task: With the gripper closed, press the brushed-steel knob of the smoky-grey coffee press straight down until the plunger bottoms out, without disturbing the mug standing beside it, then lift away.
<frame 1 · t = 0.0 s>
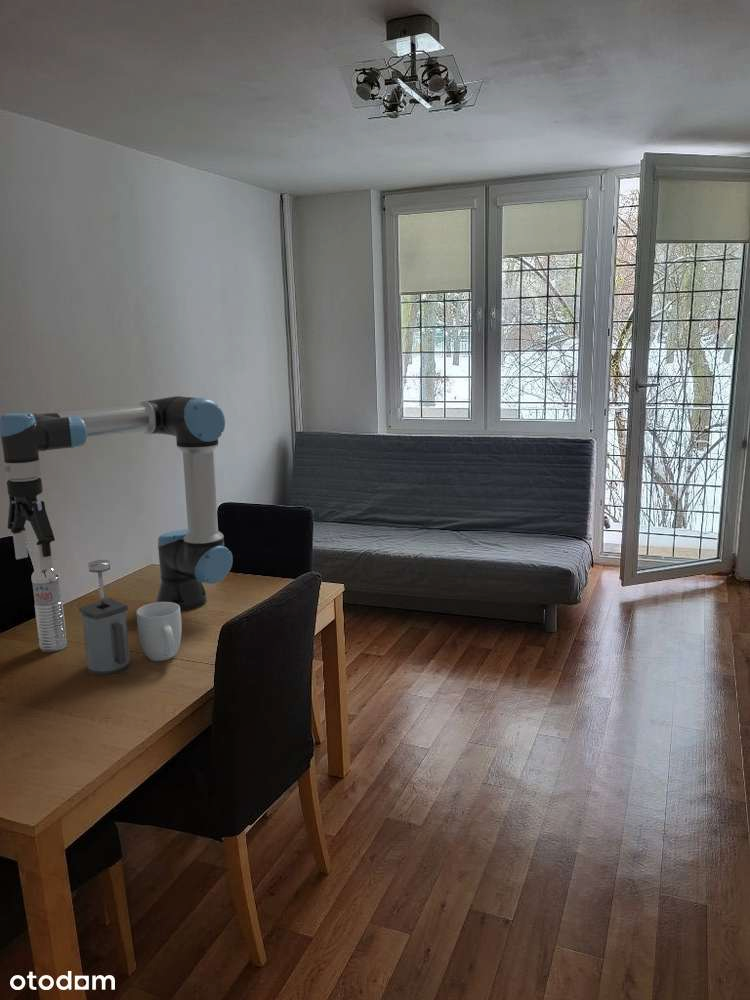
hand: (34, 563, 180), 28 cm above the table, fingers open, 13 cm apart
plunger: (101, 593, 183), point 20 cm above the table, slide at 9.0 cm
water bottle: (53, 648, 199), on the table
carafe: (109, 666, 187), on the table
mug: (163, 658, 192), on the table
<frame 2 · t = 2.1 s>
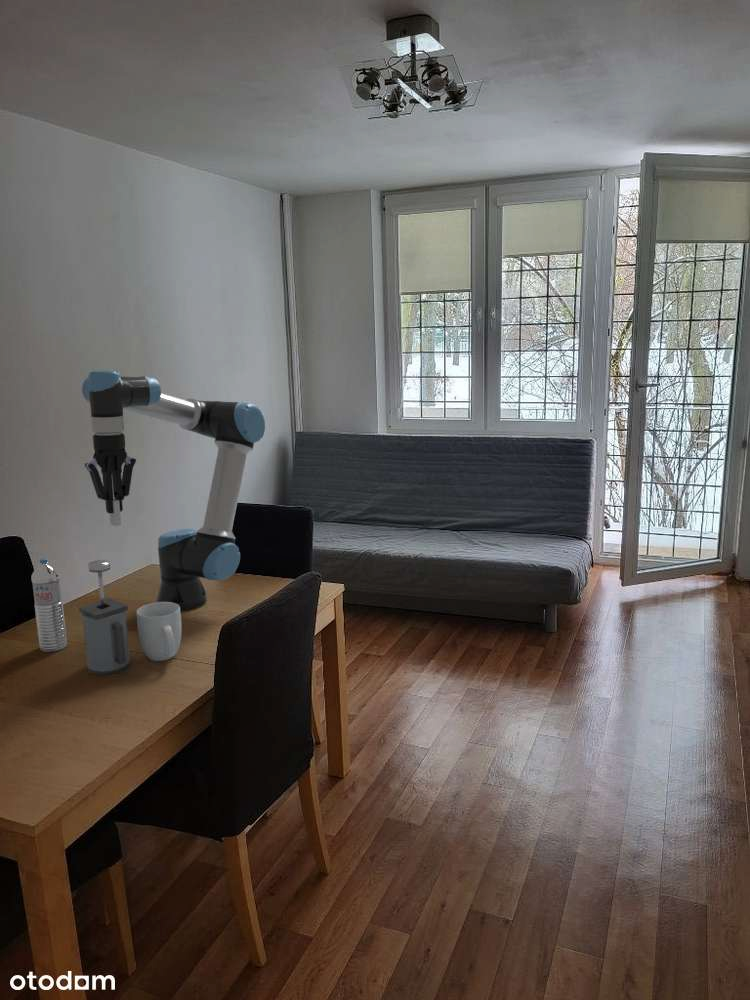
hand: (115, 524, 188), 35 cm above the table, fingers closed
nothing on the table moved.
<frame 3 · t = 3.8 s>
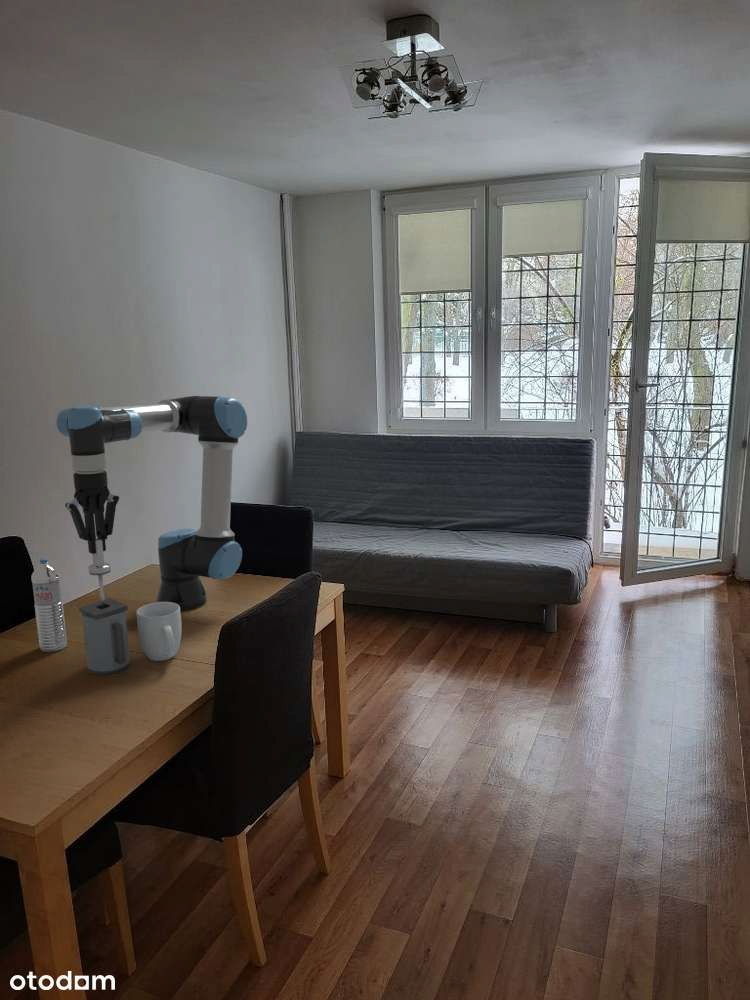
hand: (98, 564, 181), 27 cm above the table, fingers closed
plunger: (102, 596, 183), point 19 cm above the table, slide at 8.2 cm, touching gripper
everything else where it was.
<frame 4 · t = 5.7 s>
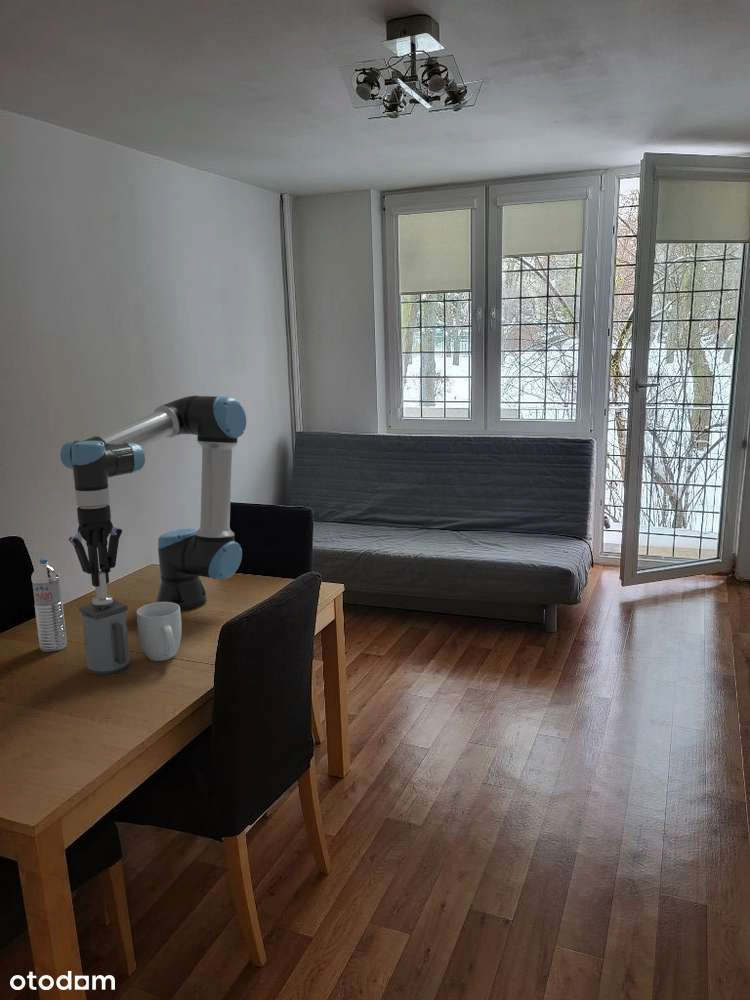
hand: (102, 597, 183), 19 cm above the table, fingers closed
plunger: (105, 628, 185), point 10 cm above the table, slide at -0.2 cm, touching gripper
everything else where it was.
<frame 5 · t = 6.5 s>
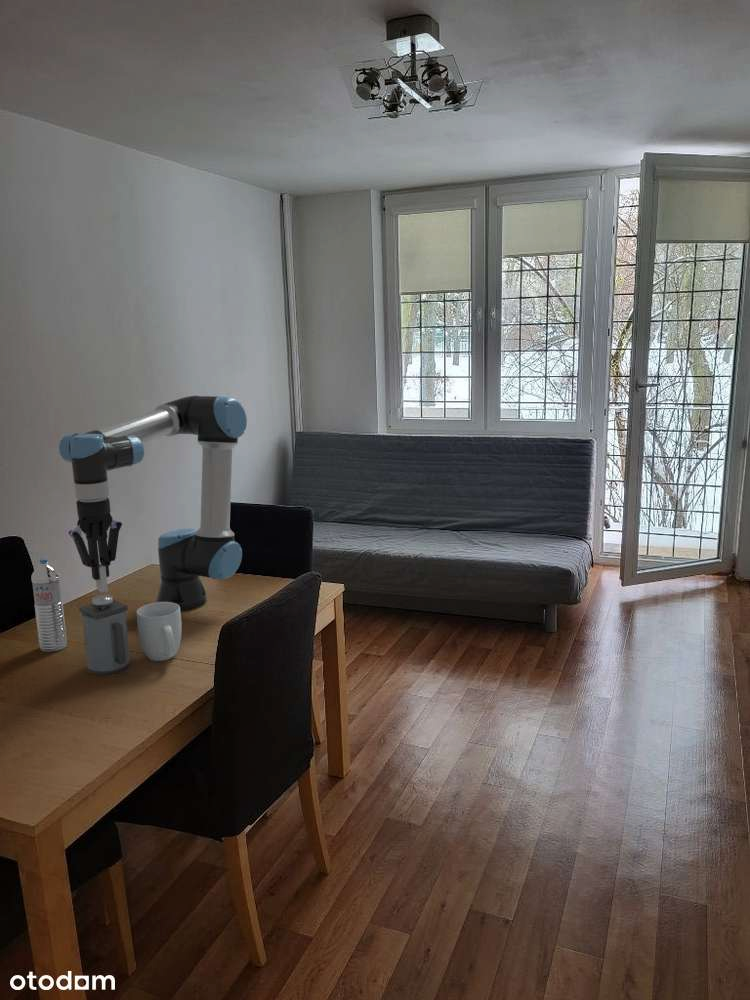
hand: (102, 590, 183), 20 cm above the table, fingers closed
plunger: (105, 627, 185), point 10 cm above the table, slide at -0.1 cm
everything else where it was.
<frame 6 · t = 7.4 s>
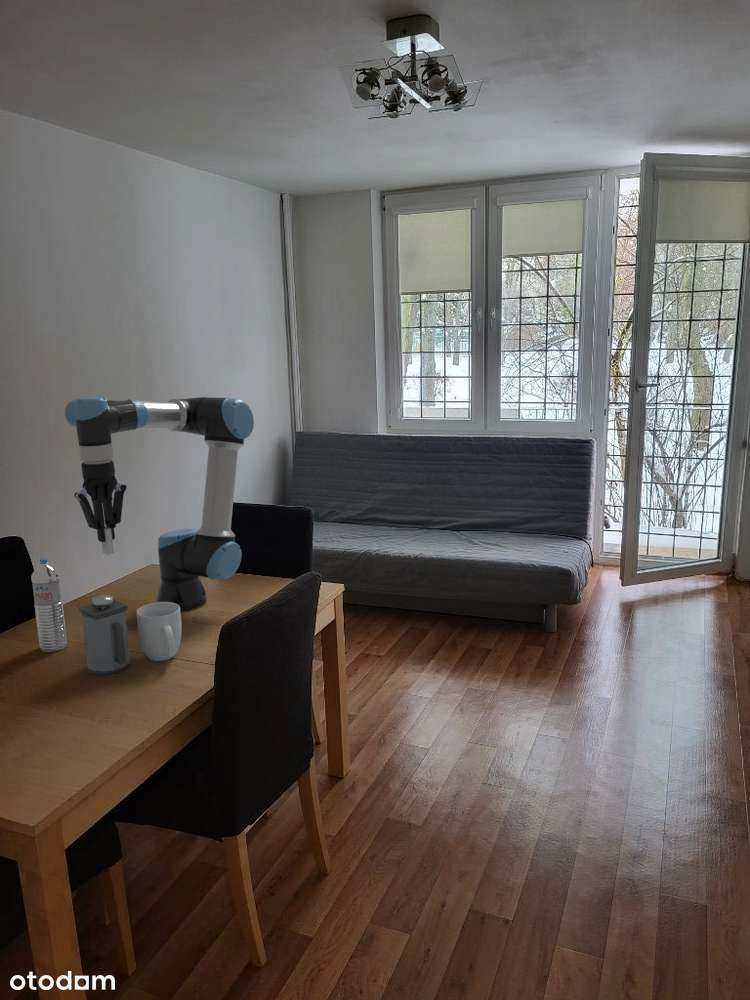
hand: (108, 552, 185), 29 cm above the table, fingers closed
nothing on the table moved.
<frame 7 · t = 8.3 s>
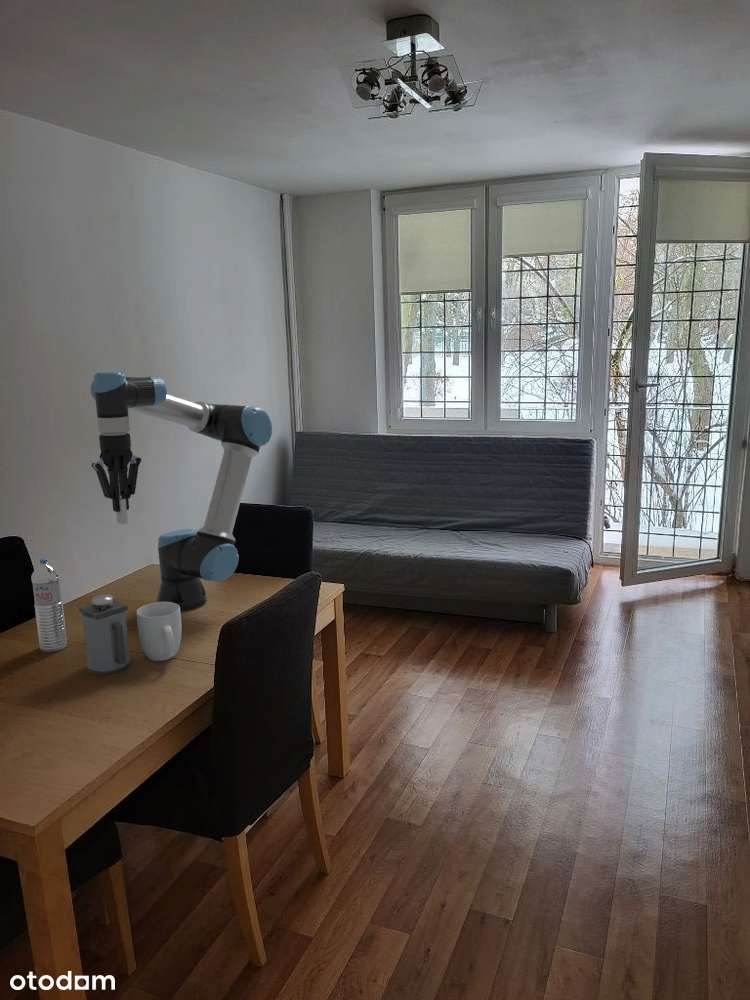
hand: (122, 522, 192), 34 cm above the table, fingers closed
nothing on the table moved.
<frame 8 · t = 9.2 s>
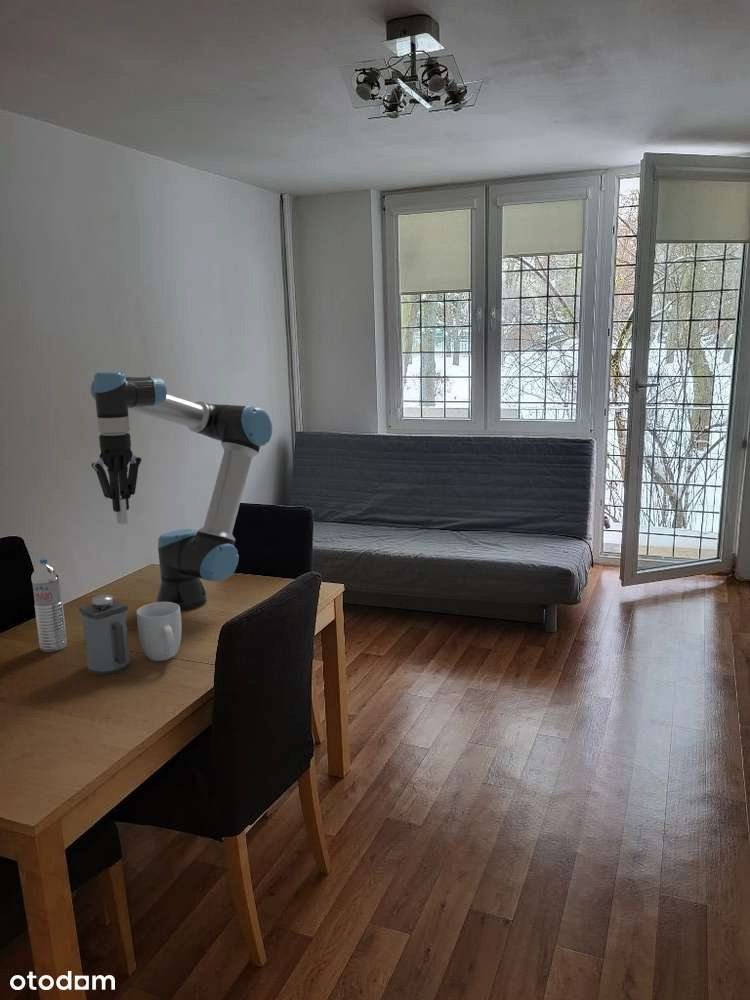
hand: (122, 522, 192), 34 cm above the table, fingers closed
nothing on the table moved.
at the end: plunger slide at -0.1 cm; mug moved 0.2 cm from its start; plunger touching nothing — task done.
